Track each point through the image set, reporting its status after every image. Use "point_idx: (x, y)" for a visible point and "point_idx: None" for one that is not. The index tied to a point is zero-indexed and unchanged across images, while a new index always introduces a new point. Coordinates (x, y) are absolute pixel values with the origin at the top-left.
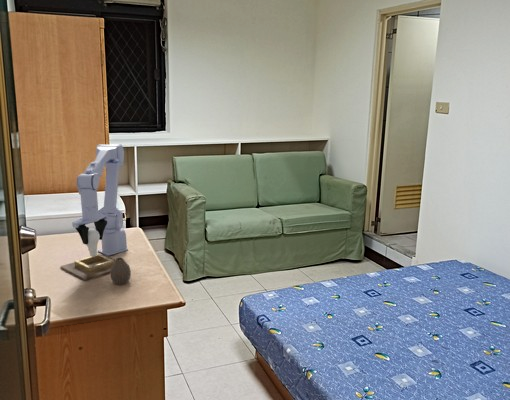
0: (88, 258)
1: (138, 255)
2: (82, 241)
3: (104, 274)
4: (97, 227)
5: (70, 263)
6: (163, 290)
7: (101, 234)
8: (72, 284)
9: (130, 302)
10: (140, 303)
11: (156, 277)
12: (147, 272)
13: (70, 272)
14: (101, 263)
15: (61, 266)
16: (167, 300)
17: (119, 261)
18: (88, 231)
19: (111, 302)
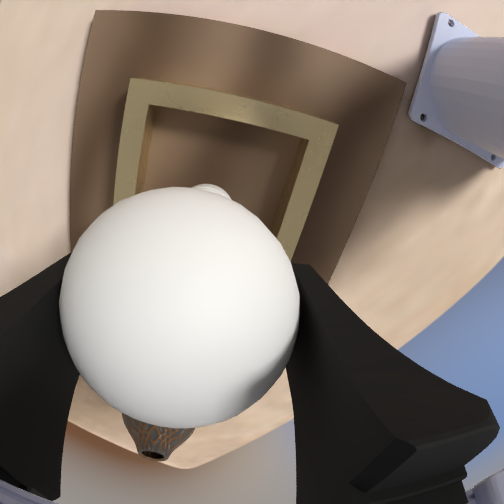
0: (226, 118)
1: (450, 255)
2: (68, 258)
3: None
4: (323, 400)
5: (160, 15)
6: (203, 448)
7: (288, 373)
8: (29, 247)
9: (109, 428)
10: (122, 440)
11: (263, 417)
12: (287, 387)
13: (76, 131)
14: None
15: (96, 17)
16: (171, 461)
17: (144, 454)
18: (102, 396)
19: (75, 404)
